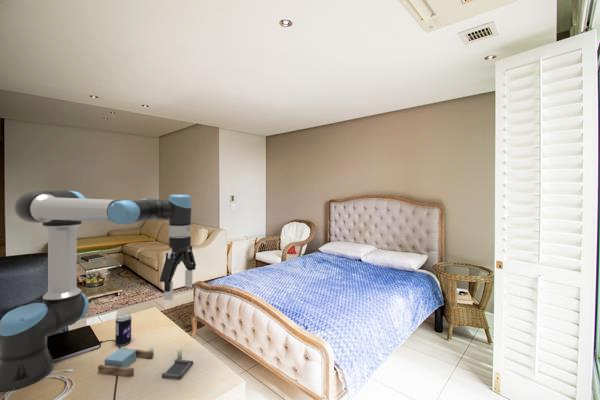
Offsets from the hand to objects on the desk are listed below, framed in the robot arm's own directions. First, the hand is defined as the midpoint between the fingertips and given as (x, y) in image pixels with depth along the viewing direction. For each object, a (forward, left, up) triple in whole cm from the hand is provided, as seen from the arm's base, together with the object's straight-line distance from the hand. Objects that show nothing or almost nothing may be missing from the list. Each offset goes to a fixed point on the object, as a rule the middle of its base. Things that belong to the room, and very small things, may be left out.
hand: (179, 292), depth 103 cm
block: (-22, -2, -28) cm, 36 cm away
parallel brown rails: (-19, -2, -28) cm, 34 cm away
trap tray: (+1, -2, -28) cm, 28 cm away
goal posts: (-8, +5, -28) cm, 30 cm away
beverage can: (-31, +11, -28) cm, 43 cm away
